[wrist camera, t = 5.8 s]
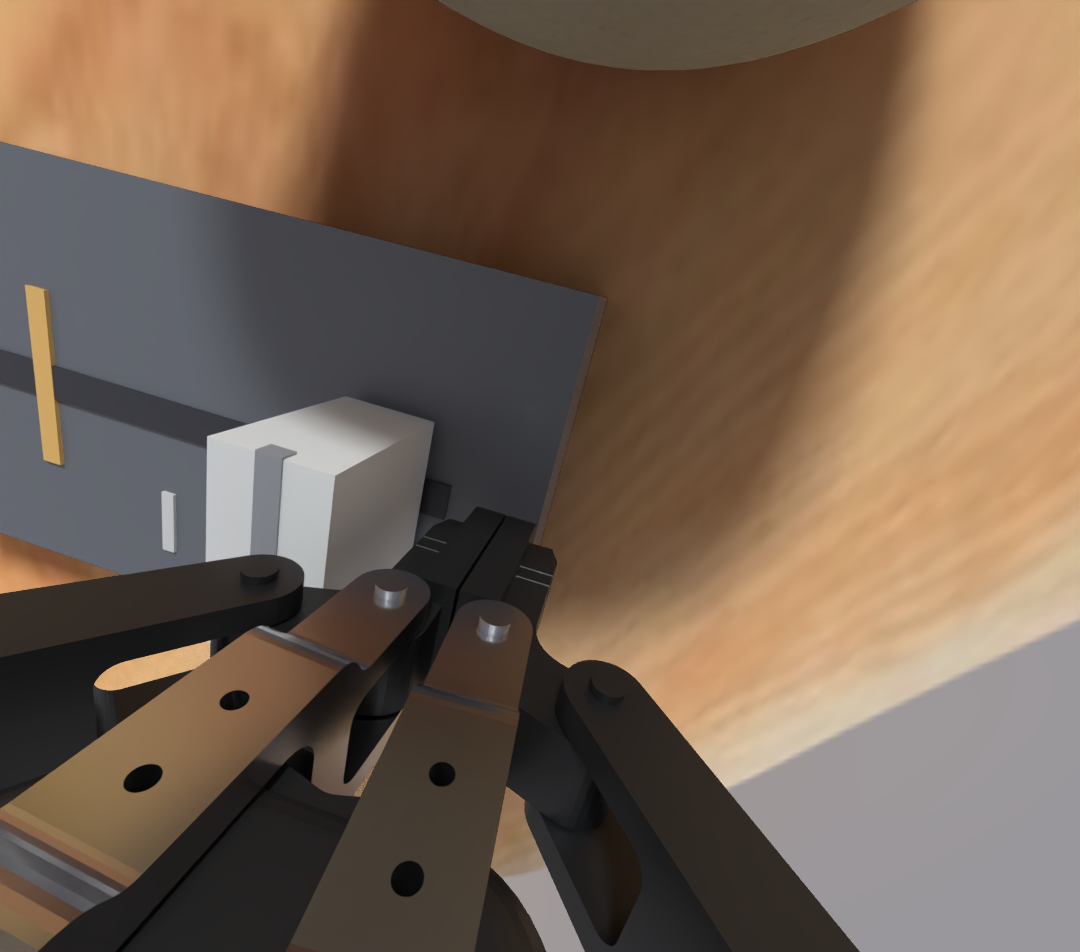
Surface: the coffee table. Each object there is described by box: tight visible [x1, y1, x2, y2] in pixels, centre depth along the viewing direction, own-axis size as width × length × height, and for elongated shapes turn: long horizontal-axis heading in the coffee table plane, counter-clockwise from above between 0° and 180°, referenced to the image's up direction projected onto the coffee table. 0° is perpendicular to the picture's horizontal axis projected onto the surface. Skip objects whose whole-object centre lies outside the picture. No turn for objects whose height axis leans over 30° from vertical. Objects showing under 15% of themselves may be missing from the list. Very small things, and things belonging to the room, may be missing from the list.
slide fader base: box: [0, 142, 607, 575], centre depth 16 cm, size 22×12×3 cm, turn 75°
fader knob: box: [206, 396, 434, 643], centre depth 11 cm, size 2×4×4 cm, turn 165°
